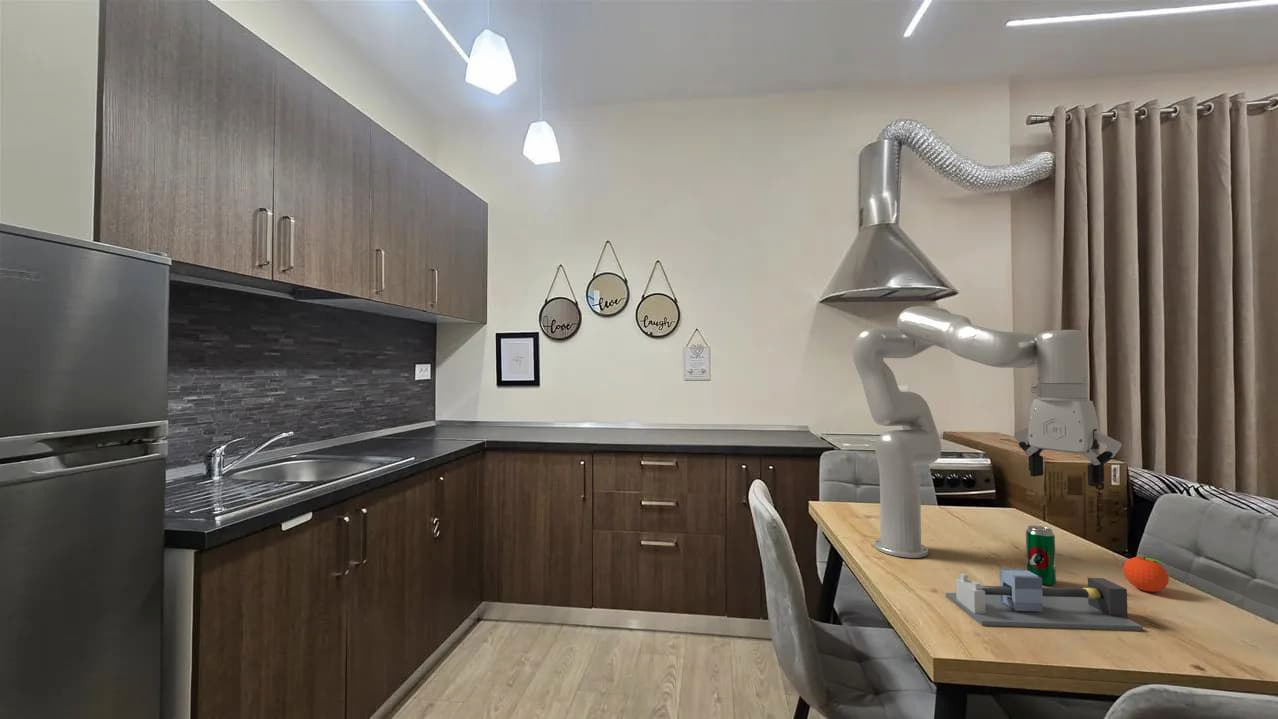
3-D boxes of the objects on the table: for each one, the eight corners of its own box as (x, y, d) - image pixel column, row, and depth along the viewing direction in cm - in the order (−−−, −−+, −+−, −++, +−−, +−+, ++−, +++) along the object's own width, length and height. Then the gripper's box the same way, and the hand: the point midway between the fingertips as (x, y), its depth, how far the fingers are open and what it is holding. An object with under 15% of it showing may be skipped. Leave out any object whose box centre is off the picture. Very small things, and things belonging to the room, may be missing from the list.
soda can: (1061, 588, 107) (1060, 532, 108) (1035, 586, 108) (1033, 530, 109) (1047, 578, 112) (1045, 525, 113) (1022, 576, 113) (1020, 524, 114)
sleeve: (1015, 610, 94) (1014, 577, 95) (1000, 600, 99) (999, 568, 99) (1042, 611, 94) (1042, 578, 94) (1026, 601, 98) (1025, 569, 99)
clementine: (1165, 587, 108) (1164, 555, 108) (1184, 601, 101) (1182, 566, 102) (1117, 581, 111) (1116, 549, 111) (1132, 593, 105) (1131, 559, 105)
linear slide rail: (981, 625, 91) (981, 591, 91) (945, 596, 103) (945, 566, 103) (1145, 630, 89) (1144, 596, 90) (1089, 600, 101) (1088, 570, 101)
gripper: (1003, 391, 104) (1005, 473, 103) (1106, 394, 88) (1109, 491, 87) (1025, 391, 106) (1027, 471, 106) (1129, 394, 90) (1132, 488, 90)
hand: (1064, 480), depth 96 cm, fingers open, 9 cm apart
